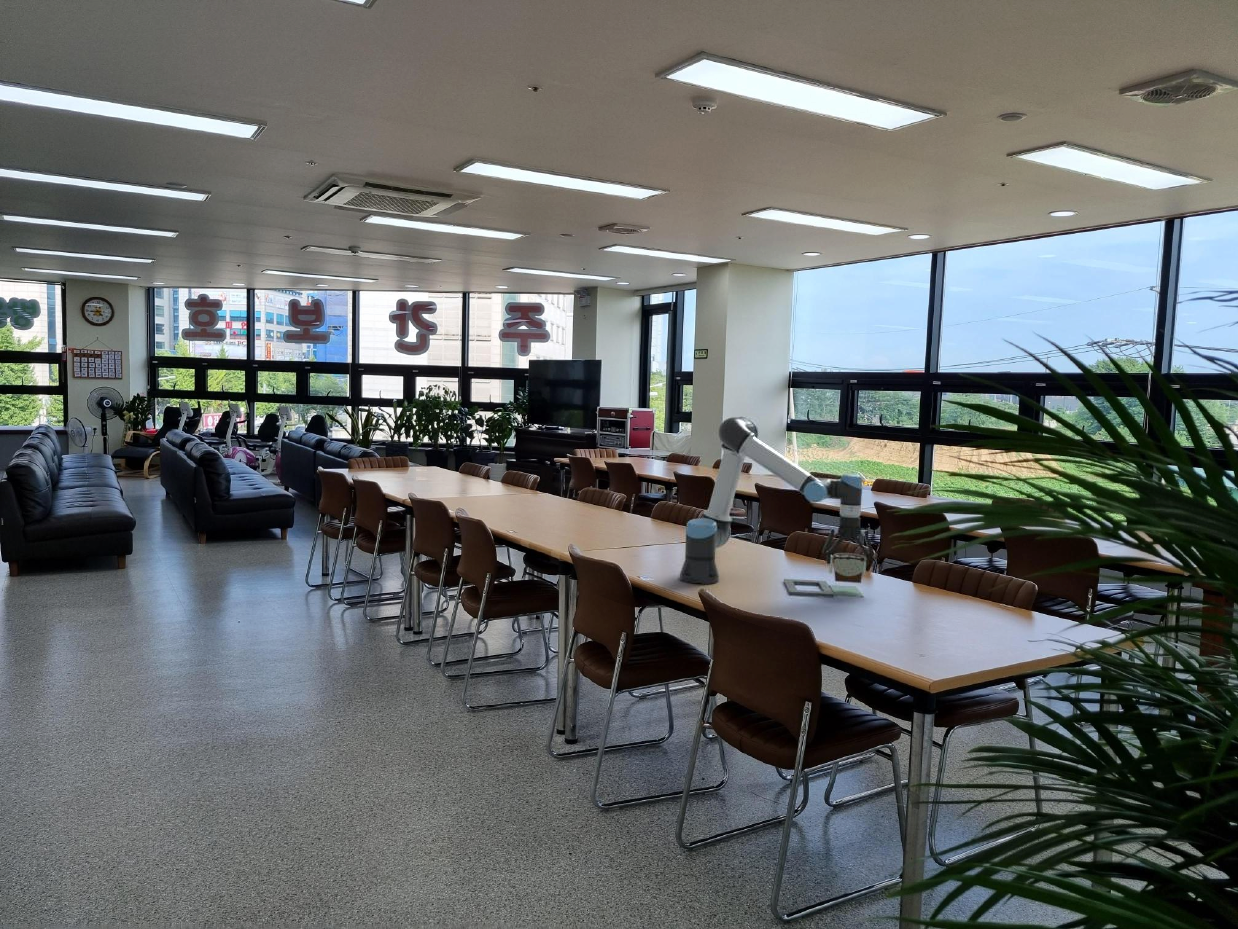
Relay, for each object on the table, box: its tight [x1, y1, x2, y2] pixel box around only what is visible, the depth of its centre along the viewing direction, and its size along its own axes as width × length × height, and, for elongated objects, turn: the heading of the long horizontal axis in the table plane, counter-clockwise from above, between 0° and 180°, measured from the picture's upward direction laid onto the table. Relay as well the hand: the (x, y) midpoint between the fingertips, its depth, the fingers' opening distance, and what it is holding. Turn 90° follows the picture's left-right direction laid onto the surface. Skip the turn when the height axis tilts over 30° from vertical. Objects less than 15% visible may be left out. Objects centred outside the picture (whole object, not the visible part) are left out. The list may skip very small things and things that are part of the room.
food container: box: [832, 552, 866, 584], centre depth 318 cm, size 12×6×10 cm, turn 76°
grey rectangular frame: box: [783, 578, 835, 598], centre depth 320 cm, size 16×22×1 cm
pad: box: [828, 584, 864, 597], centre depth 319 cm, size 10×16×1 cm, turn 175°
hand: (847, 573), depth 318 cm, fingers closed on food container, 11 cm apart
